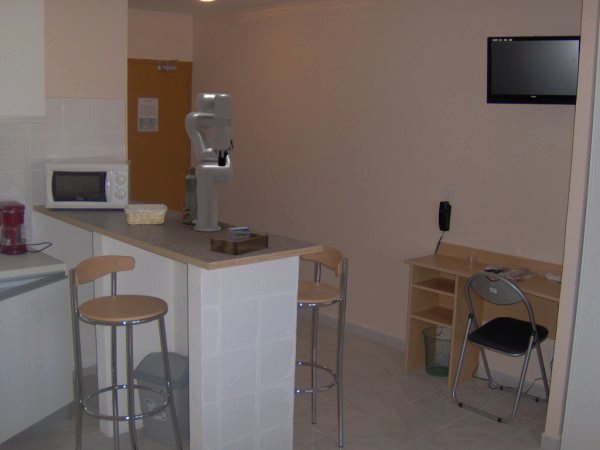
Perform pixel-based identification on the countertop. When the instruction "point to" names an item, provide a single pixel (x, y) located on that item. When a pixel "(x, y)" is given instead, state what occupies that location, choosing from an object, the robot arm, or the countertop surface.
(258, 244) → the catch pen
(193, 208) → the bottle
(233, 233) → the medicine box
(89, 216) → the countertop surface
